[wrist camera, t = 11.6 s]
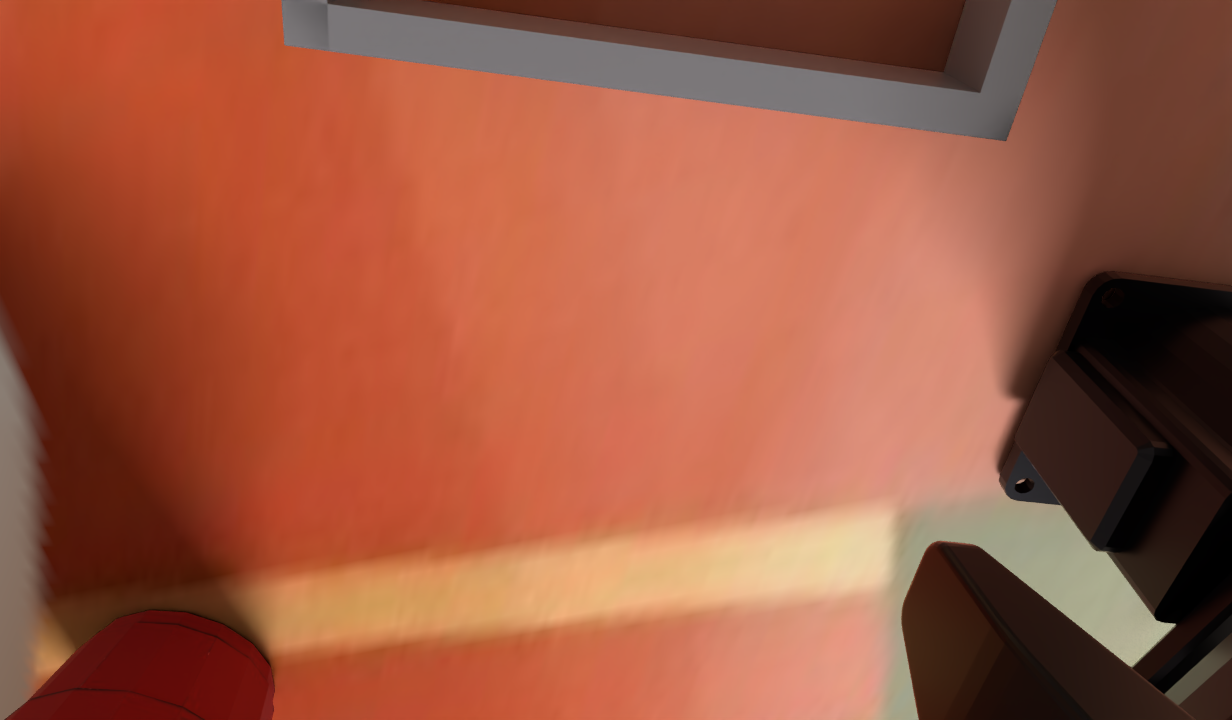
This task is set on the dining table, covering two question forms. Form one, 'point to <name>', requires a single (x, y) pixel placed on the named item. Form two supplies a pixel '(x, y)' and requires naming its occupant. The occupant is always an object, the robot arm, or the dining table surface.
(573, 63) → the open gray frame
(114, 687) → the plastic cup
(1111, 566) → the dining table surface
